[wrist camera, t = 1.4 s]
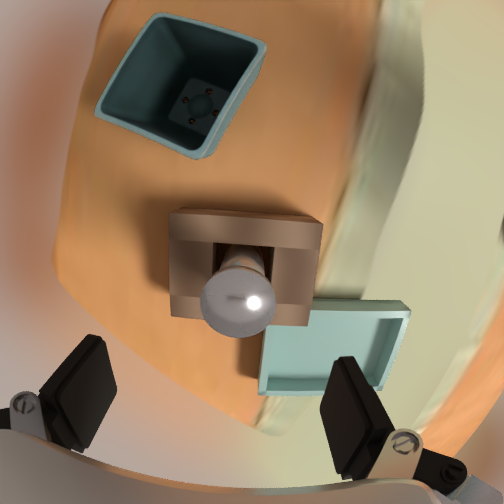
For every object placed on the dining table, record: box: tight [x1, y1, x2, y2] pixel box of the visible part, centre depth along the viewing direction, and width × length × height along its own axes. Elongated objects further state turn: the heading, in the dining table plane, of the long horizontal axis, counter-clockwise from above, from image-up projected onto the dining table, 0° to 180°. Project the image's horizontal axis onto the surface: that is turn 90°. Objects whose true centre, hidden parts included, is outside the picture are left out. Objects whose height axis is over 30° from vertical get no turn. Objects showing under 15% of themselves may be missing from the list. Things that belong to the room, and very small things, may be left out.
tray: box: [258, 298, 411, 396], centre depth 27 cm, size 15×11×3 cm
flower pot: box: [94, 12, 267, 160], centre depth 18 cm, size 9×9×9 cm
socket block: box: [169, 208, 323, 327], centre depth 24 cm, size 12×9×4 cm
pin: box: [200, 244, 276, 338], centre depth 21 cm, size 5×5×10 cm
